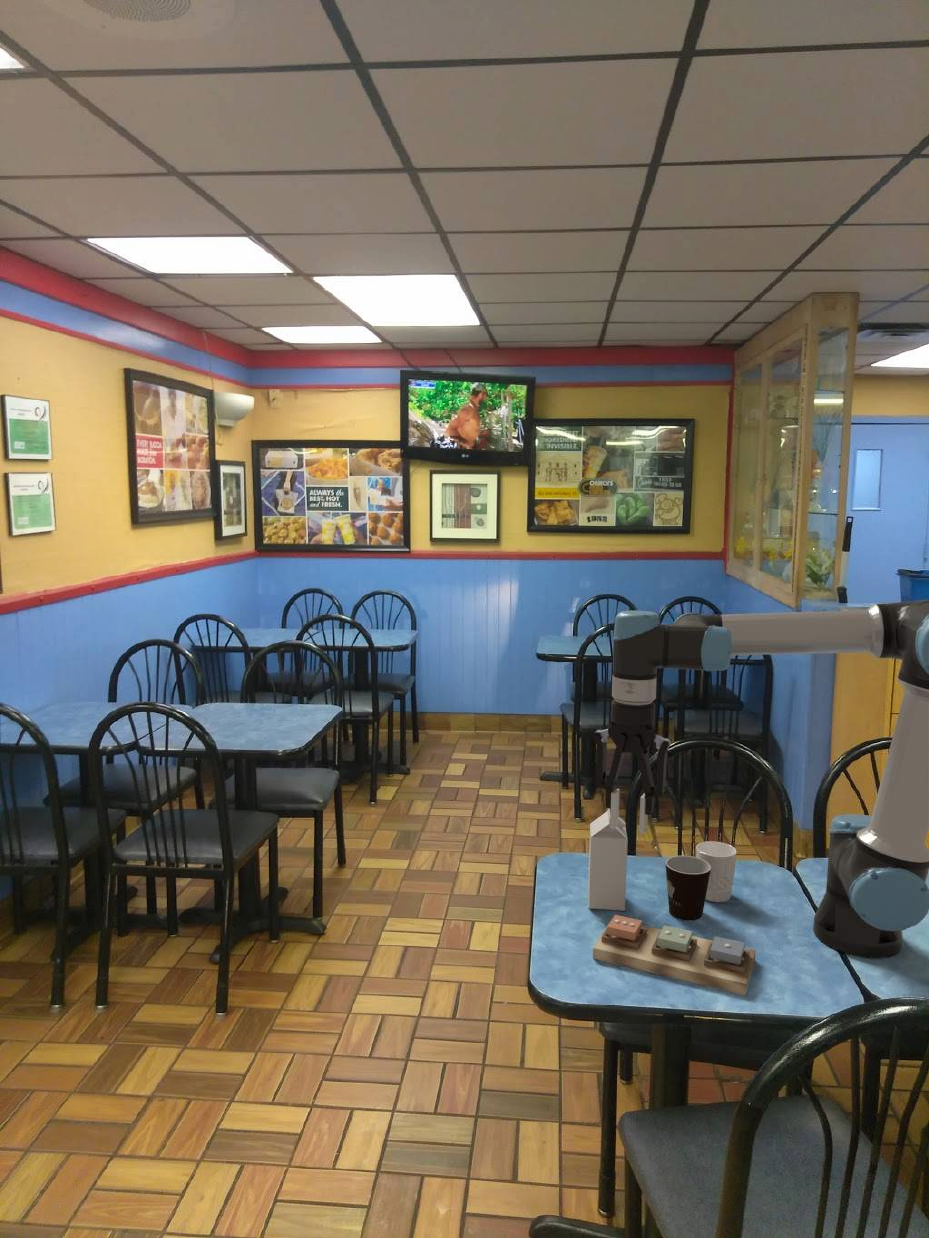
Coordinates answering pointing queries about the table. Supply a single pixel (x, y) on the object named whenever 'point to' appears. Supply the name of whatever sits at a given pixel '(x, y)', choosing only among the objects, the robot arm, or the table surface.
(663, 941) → the key two dots
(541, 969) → the table surface
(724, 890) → the white cup
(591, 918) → the table surface
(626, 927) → the key three dots
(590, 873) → the milk carton
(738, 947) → the key one dot
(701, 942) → the keypad board
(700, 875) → the coffee mug
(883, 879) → the robot arm
